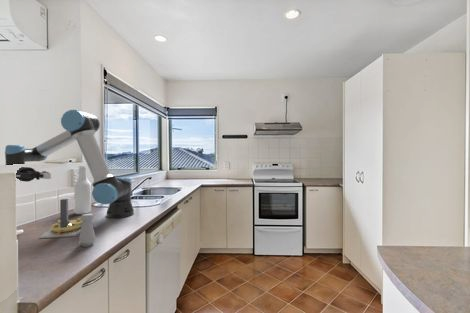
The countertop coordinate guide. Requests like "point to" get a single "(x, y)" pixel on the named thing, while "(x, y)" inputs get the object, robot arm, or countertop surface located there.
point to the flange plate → (60, 234)
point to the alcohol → (82, 192)
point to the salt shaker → (86, 231)
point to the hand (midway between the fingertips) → (48, 175)
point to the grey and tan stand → (65, 220)
